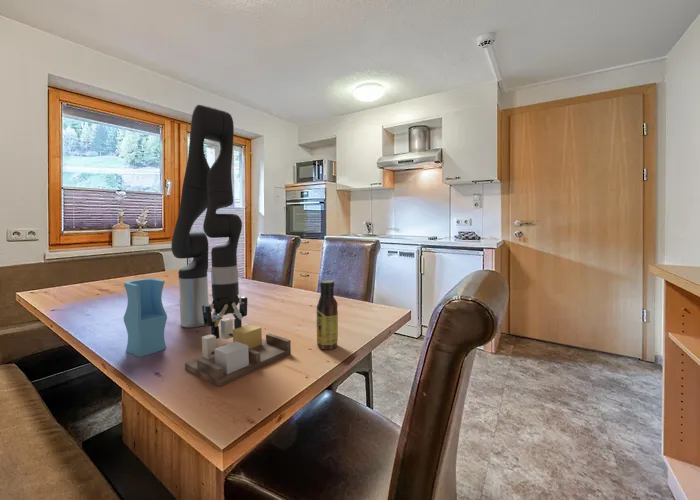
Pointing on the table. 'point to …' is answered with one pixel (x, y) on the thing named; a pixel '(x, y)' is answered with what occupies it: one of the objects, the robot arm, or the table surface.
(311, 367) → the table surface
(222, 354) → the white block with handle
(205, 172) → the robot arm
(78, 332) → the table surface
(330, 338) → the sauce bottle
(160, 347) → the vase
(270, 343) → the lane rack
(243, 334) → the ochre block
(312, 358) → the table surface
